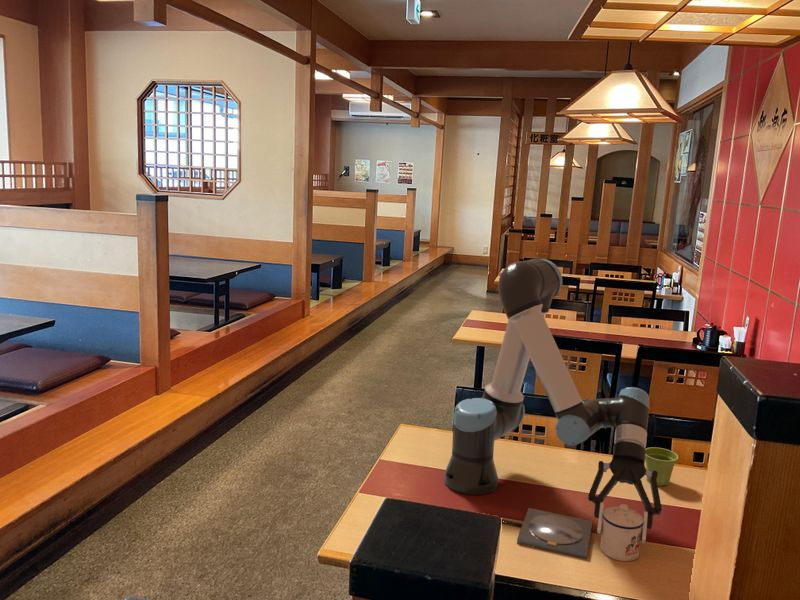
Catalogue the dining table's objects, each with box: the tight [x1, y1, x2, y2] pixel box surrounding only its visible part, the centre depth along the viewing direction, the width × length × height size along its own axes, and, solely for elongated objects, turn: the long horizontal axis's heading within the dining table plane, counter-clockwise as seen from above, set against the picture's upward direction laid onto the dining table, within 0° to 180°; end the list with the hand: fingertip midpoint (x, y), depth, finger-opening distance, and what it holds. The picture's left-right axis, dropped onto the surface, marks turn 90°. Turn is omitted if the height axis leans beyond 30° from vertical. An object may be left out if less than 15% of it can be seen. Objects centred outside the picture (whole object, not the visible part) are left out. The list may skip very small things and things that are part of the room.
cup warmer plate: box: [501, 507, 593, 560], centre depth 157 cm, size 23×16×2 cm
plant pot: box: [645, 446, 679, 487], centre depth 186 cm, size 9×9×9 cm
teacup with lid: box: [599, 503, 644, 562], centre depth 150 cm, size 12×9×12 cm
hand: (621, 536), depth 147 cm, fingers closed on teacup with lid, 9 cm apart
